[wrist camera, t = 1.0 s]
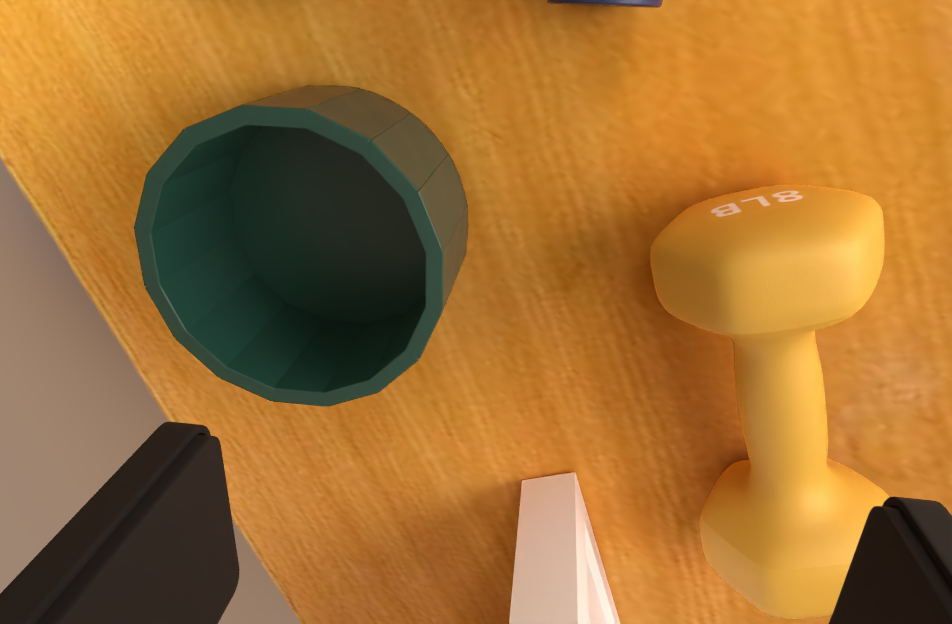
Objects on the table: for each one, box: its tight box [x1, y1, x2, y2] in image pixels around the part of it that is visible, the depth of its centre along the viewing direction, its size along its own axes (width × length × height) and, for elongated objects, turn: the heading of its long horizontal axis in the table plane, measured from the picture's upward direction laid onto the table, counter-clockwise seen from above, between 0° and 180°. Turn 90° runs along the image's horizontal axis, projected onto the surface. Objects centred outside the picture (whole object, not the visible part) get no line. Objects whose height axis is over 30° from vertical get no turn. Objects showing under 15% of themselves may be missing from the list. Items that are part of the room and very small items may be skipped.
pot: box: [134, 86, 468, 406], centre depth 30 cm, size 12×12×8 cm
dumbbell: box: [650, 184, 889, 619], centre depth 30 cm, size 19×9×8 cm, turn 14°
